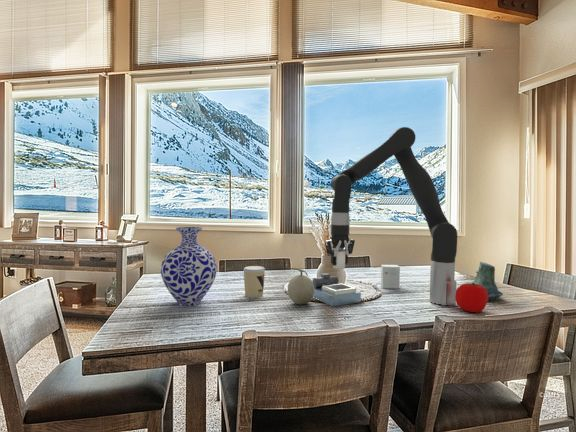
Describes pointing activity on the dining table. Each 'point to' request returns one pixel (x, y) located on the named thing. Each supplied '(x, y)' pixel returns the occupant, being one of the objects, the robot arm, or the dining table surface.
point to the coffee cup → (254, 281)
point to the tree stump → (487, 280)
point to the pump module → (340, 259)
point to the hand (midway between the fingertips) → (339, 264)
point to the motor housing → (334, 291)
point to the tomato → (471, 297)
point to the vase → (188, 269)
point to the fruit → (300, 288)
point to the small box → (390, 276)
